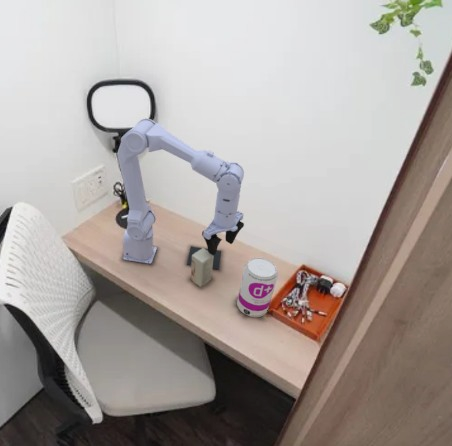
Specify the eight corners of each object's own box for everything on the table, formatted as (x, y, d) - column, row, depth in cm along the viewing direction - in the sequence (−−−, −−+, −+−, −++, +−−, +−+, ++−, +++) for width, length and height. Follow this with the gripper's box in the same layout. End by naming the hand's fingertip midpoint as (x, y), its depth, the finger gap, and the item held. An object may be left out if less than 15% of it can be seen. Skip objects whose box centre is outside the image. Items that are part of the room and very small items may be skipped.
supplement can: (268, 320, 89) (281, 280, 80) (236, 316, 90) (245, 276, 81) (266, 297, 95) (277, 258, 86) (236, 293, 96) (244, 254, 88)
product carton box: (200, 271, 104) (203, 246, 98) (211, 279, 101) (215, 254, 95) (189, 279, 101) (191, 254, 95) (199, 287, 99) (202, 262, 93)
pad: (186, 264, 107) (186, 264, 106) (190, 246, 114) (191, 246, 114) (218, 269, 104) (218, 269, 104) (220, 251, 111) (221, 250, 111)
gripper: (219, 226, 83) (214, 266, 91) (255, 205, 90) (247, 243, 98) (198, 213, 88) (195, 253, 96) (234, 194, 95) (228, 232, 103)
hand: (220, 247), depth 97 cm, fingers open, 7 cm apart
